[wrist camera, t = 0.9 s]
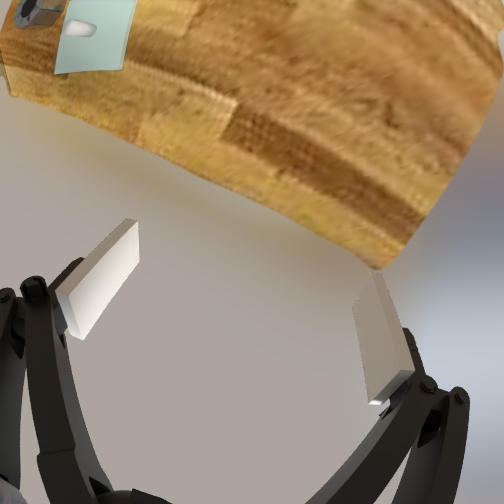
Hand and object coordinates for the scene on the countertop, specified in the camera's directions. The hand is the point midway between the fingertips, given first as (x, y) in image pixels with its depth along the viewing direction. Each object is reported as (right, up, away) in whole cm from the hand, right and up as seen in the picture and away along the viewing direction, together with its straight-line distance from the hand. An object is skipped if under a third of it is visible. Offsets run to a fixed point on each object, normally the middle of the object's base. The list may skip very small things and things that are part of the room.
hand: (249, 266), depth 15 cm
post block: (-24, +35, +13) cm, 44 cm away
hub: (-35, +43, +9) cm, 57 cm away
